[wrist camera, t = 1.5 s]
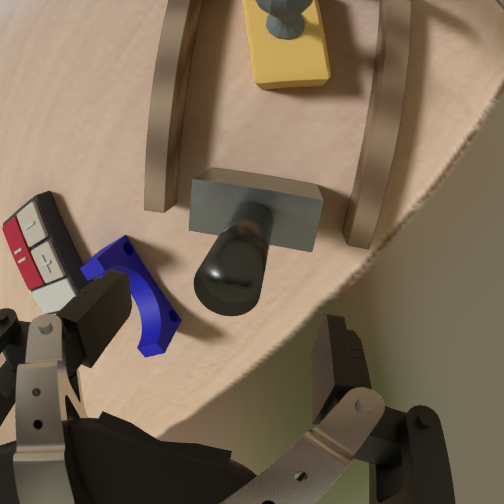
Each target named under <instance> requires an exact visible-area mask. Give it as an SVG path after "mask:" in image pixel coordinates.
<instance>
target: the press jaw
mask: <svg viewBox="0 0 504 504" xmlns="http://www.w3.org/2000/svg"><path fill="white" fill-rule="evenodd" d="M323 203H324V199H323V197H322V195H321V192H320V190H319V188H318V186H317V185H315V184H310V183H305V182H300V181H294V180H289V179H283V178H278V177H272V176H266V175H260V174H253V173H247V172H240V171H233V170H226V169H219V168H210V169H209V170H207V171H205V172H203V173H202V174H200V175H198V176H197V177H195V178H193V179H192V188H191V202H190V217H189V231H195V232H201V233H207V234H212V235H218V238H217V240H216V241H215V243H214V244H213V246H212V248H211V249H210V251H209V253H208V254H207V256H206V257H205V259H204V261H203V262H202V264H201V266H200V267H199V269H198V271H197V272H196V275H195V278H194V289H195V293H196V295H197V297H198V299H199V300H200V301H201V303H202V304H203V305H204V306H205V307H207V308H208V309H209V310H211V311H213V312H215V313H217V314H220V315H224V316H238V315H242V314H245V313H247V312H249V311H250V310H252V309H253V308H254V307H255V306H256V304H257V303H258V300H259V298H260V293H261V288H262V283H263V277H264V272H265V267H266V261H267V256H268V250H269V245H275V246H280V247H286V248H291V249H297V250H302V251H308V252H312V251H313V247H314V242H315V238H316V234H317V230H318V226H319V221H320V217H321V212H322V208H323Z"/></svg>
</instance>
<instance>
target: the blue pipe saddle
mask: <svg viewBox="0 0 504 504" xmlns="http://www.w3.org/2000/svg"><path fill="white" fill-rule="evenodd" d="M80 270H81V271H82V273H83V274H84V276H85V277H86V279H87V280H90V279H92V278H94V277H96V276H98V277H99V278H100V279H101V278H102V277H103V276H104V275H105V274H106V273H107V272H108V271H109V270H116V271H120V272H124V273H127V274H128V276H129V281H130V291H131V294H132V296H133V298H134V300H135V301H136V304H137V306H138V309H139V312H140V316H141V321H142V335H141V340H140V343H139V345H138V347H137V348H138V349H139V351H140V352H141V353H142V354H143V355H144V357H149V356H154V355H158V354H163V353H165V351H166V349H167V347H168V345H169V343H170V342H171V340H172V338H173V336H174V334H175V332H176V330H177V328H178V326H179V324H180V322H181V319H180V318H179V316H178V315H177V313H176V312H175V311H174V309H173V308H172V306H171V305H170V303H169V302H168V301H167V299H166V298H165V296H164V295H163V293H162V292H161V290H160V289H159V287H158V286H157V284H156V283H155V281H154V280H153V278H152V277H151V275H150V273H149V272H148V270H147V269H146V267H145V266H144V264H143V263H142V261H141V259H140V258H139V256H138V255H137V253H136V251H135V250H134V248H133V246H132V245H131V243H130V241H129V240H128V238H127V236H126V235H125V236H123V237H121V238H119V239H118V240H116V241H115V242H113V243H111V244H110V245H108V246H106V247H105V248H103V249H101V250H100V251H99V252H98V253H96V254H95V255H94V256H93V257H91V258H90V259H89V260H88V262H87V263H86V264H85V265H83V266H82V267H81V268H80Z"/></svg>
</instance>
